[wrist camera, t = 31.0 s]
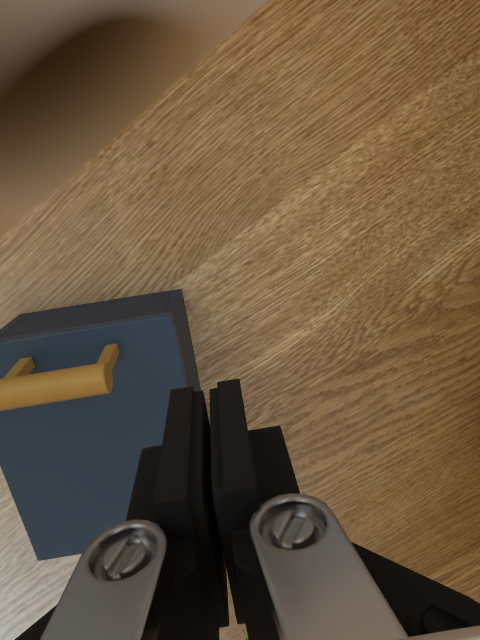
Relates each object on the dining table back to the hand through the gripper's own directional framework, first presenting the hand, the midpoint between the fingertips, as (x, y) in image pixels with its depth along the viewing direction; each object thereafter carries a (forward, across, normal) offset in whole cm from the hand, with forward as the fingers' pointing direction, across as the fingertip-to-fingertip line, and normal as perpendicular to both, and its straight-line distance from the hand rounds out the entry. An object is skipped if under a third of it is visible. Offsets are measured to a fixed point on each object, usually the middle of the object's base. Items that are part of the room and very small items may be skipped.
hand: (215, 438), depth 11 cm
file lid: (+17, +9, +10) cm, 21 cm away
